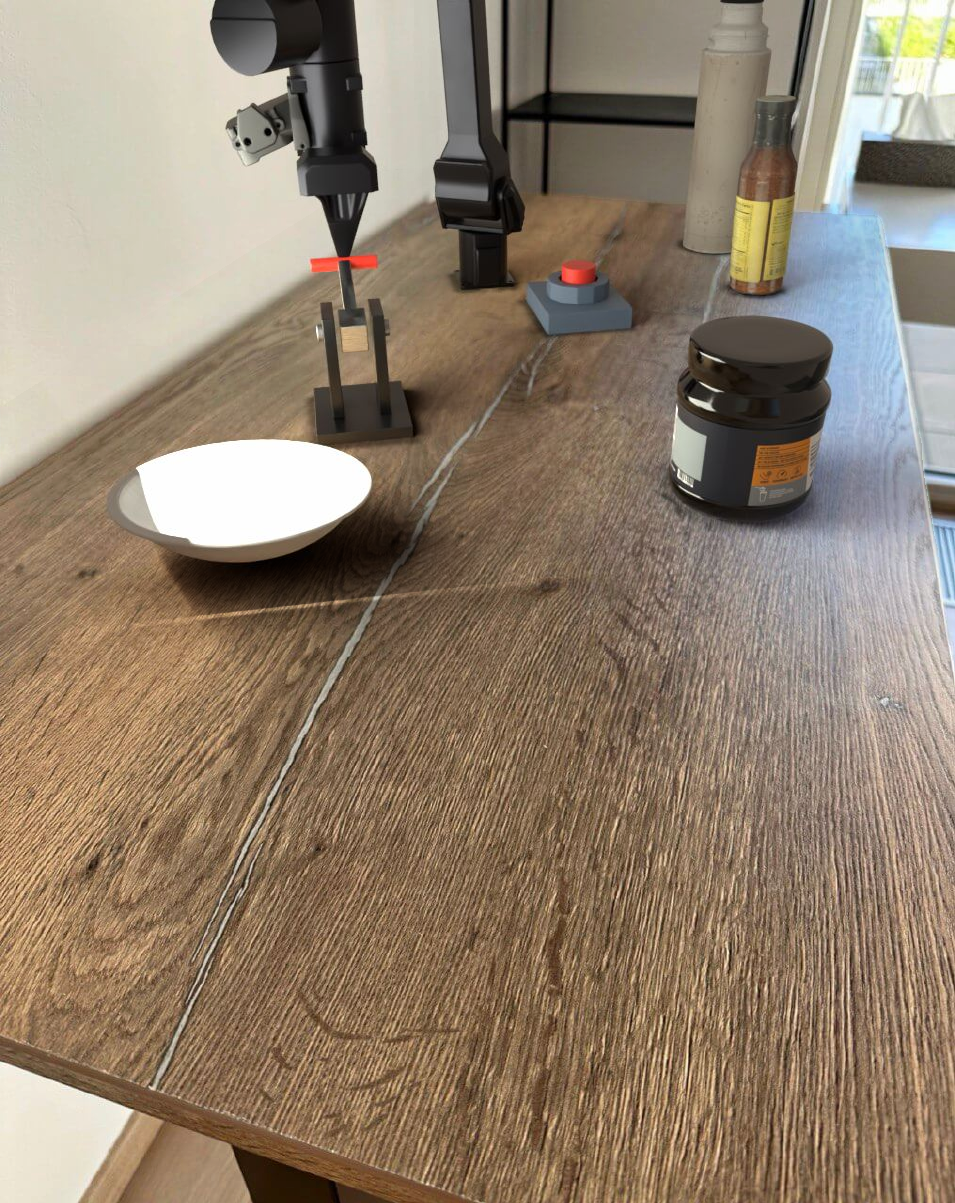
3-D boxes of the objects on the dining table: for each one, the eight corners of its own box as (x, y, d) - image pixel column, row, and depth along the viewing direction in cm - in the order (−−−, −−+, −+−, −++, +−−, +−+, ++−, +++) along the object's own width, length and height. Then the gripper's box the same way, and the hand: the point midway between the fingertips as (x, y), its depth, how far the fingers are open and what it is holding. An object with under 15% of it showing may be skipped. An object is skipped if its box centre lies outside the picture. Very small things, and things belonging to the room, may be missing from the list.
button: (558, 277, 104) (558, 261, 103) (590, 275, 104) (590, 258, 103) (565, 287, 101) (566, 271, 100) (599, 285, 101) (599, 268, 100)
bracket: (314, 399, 88) (301, 293, 82) (401, 392, 89) (394, 286, 83) (318, 448, 80) (303, 333, 74) (413, 439, 81) (406, 325, 75)
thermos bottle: (737, 236, 128) (770, -11, 112) (750, 253, 122) (787, -6, 106) (678, 237, 129) (702, -9, 112) (688, 254, 122) (715, -5, 106)
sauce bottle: (778, 280, 113) (808, 92, 101) (786, 298, 108) (819, 101, 96) (721, 280, 113) (745, 92, 102) (727, 297, 108) (753, 102, 97)
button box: (526, 301, 109) (526, 265, 106) (603, 295, 110) (605, 260, 107) (547, 335, 100) (548, 297, 97) (631, 328, 101) (634, 290, 99)
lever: (311, 274, 88) (308, 250, 86) (377, 270, 88) (375, 245, 86) (319, 354, 79) (316, 329, 77) (391, 349, 80) (390, 323, 78)
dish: (92, 611, 61) (71, 545, 58) (157, 499, 73) (143, 440, 70) (365, 609, 61) (358, 543, 58) (387, 497, 73) (382, 437, 70)
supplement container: (839, 511, 69) (876, 352, 62) (713, 541, 67) (737, 378, 60) (756, 450, 78) (780, 304, 71) (641, 474, 75) (654, 324, 68)
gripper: (227, 50, 84) (255, 234, 93) (215, 80, 69) (250, 296, 78) (354, 45, 85) (370, 227, 94) (370, 72, 70) (386, 286, 79)
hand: (343, 256), depth 86 cm, fingers closed
